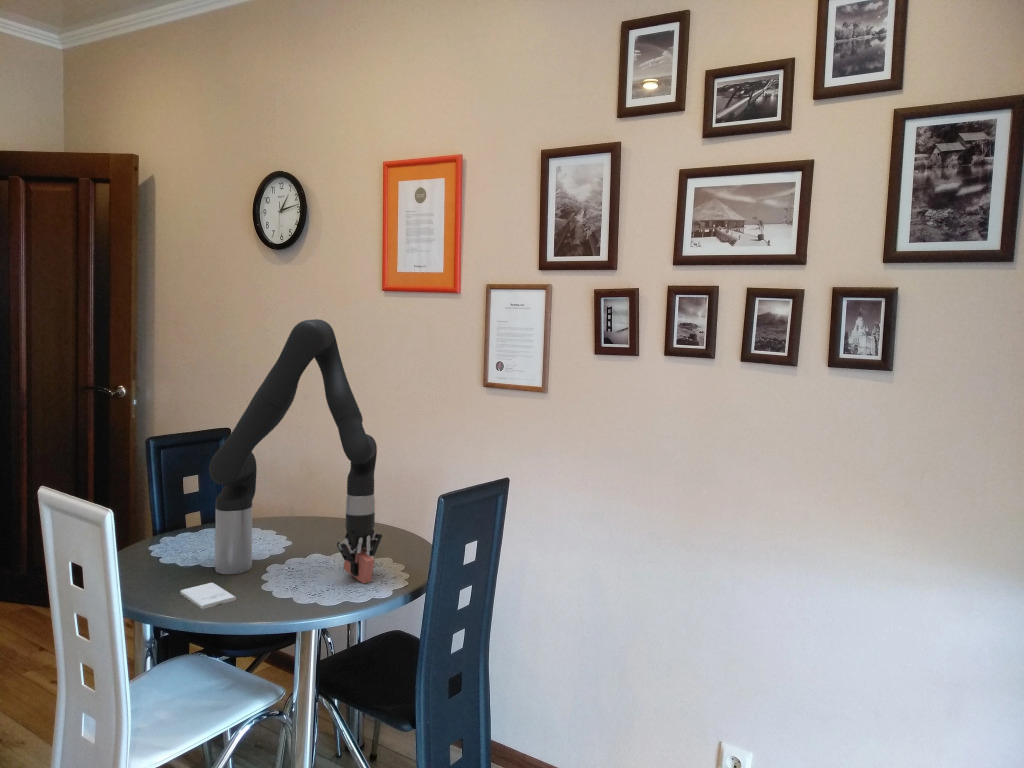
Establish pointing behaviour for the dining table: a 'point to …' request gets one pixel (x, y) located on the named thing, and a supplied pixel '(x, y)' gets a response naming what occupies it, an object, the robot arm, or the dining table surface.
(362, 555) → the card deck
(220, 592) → the external hard drive
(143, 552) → the dining table surface
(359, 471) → the robot arm
